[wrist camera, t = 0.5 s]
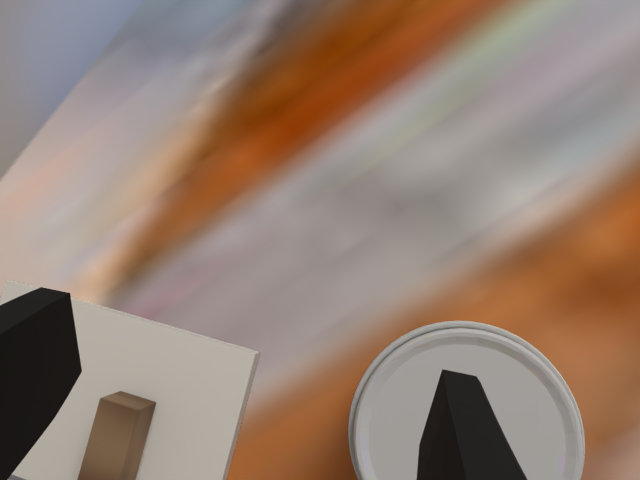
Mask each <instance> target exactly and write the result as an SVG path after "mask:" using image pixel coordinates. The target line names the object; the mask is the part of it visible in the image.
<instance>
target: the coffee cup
mask: <svg viewBox="0 0 640 480" xmlns="http://www.w3.org/2000/svg"><path fill="white" fill-rule="evenodd" d="M442 369H444V370H449V371H454V372H459V373H463V374H468V375H473V376H477V378H478V379H479V381H480V382H481V384H482V387H483V389H484V391H485V394H486V396H487V398H488V401H489V403H490V405H491V407H492V409H493V412H494V414H495V416H496V418H497V420H498V422H499V425H500V427H501V429H502V431H503V433H504V435H505V437H506V439H507V441H508V443H509V445H510V447H511V449H512V451H513V453H514V455H515V457H516V459H517V461H518V463H519V465H520V466H521V468H522V470H523V472H524V474H525V476H526V478H527V480H580V479H581V475H582V471H583V465H584V456H585V439H584V430H583V424H582V419H581V416H580V412H579V409H578V406H577V404H576V401H575V399H574V396H573V394H572V392H571V391H570V389H569V387H568V385H567V383H566V382H565V380H564V379H563V377H562V376H561V374H560V373H559V372H558V370H557V369H556V368H555V367H554V366H553V364H552V363H551V362H550V361H549V360H548V359H547V358H546V357H545V356H544V355H543V354H542V353H541V352H540V351H538V350H537V349H536V348H535V347H533V346H532V345H531V344H530V343H528V342H526V341H525V340H523V339H522V338H520V337H518V336H516V335H514V334H512V333H510V332H508V331H506V330H503V329H501V328H498V327H495V326H492V325H488V324H484V323H478V322H472V321H446V322H440V323H434V324H430V325H426V326H423V327H419V328H417V329H414V330H412V331H410V332H408V333H407V334H405V335H403V336H401V337H400V338H398V339H397V340H395V341H394V342H392V343H391V344H390V345H389V346H387V347H386V348H385V349H384V350H383V351H382V352H381V353H380V354H379V355H378V356H377V357H376V358H375V359H374V360H373V361H372V363H371V364H370V366H369V367H368V368H367V370H366V371H365V373H364V375H363V376H362V378H361V380H360V382H359V384H358V387H357V389H356V391H355V394H354V397H353V400H352V404H351V409H350V414H349V424H348V440H349V449H350V455H351V460H352V464H353V467H354V470H355V473H356V476H357V479H358V480H417V468H418V455H419V444H420V441H421V438H422V434H423V431H424V428H425V424H426V421H427V418H428V414H429V411H430V408H431V405H432V401H433V398H434V395H435V391H436V388H437V385H438V382H439V378H440V375H441V372H442Z"/></svg>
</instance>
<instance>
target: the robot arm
mask: <svg viewBox="0 0 640 480" xmlns="http://www.w3.org/2000/svg"><path fill="white" fill-rule="evenodd" d="M81 372H82V368H81V362H80V355H79V349H78V342H77V336H76V329H75V322H74V316H73V309H72V303H71V296H70V293H66V292H61V291H56V290H52V289H47V288H42V287H41V288H38V289H36V290H33V291H31V292H28V293H26V294H24V295H22V296H19V297H17V298H15V299H13V300H10V301H8V302H6V303H4V304H2V305H0V480H7V479H8V478H9V477H10V475H11V474H12V473H13V472H14V470H15V469H16V468H17V466H18V465H19V464H20V463H21V461H22V460H23V459H24V458H25V456H26V455H27V454H28V452H29V451H30V450H31V448H32V447H33V446H34V445H35V443H36V442H37V441H38V439H39V438H40V437H41V435H42V434H43V433H44V431H45V430H46V429H47V427H48V426H49V425H50V423H51V422H52V421H53V419H54V418H55V417H56V415H57V413H58V412H59V410H60V408H61V407H62V405H63V403H64V402H65V400H66V399H67V397H68V395H69V393H70V392H71V390H72V388H73V386H74V385H75V383H76V381H77V379H78V378H79V376H80V374H81ZM417 480H527V478H526V476H525V474H524V472H523V470H522V468H521V466H520V465H519V463H518V461H517V459H516V457H515V455H514V453H513V451H512V449H511V447H510V445H509V443H508V441H507V439H506V437H505V435H504V433H503V431H502V429H501V427H500V425H499V422H498V420H497V418H496V416H495V414H494V412H493V409H492V407H491V405H490V403H489V401H488V398H487V396H486V394H485V391H484V389H483V387H482V384H481V382H480V381H479V379H478V378H477V376H473V375H468V374H463V373H459V372H454V371H449V370H444V369H442V372H441V375H440V378H439V382H438V385H437V388H436V391H435V395H434V398H433V401H432V405H431V408H430V411H429V414H428V418H427V421H426V424H425V428H424V431H423V434H422V438H421V441H420V444H419V455H418V468H417Z"/></svg>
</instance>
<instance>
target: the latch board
mask: <svg viewBox="0 0 640 480" xmlns="http://www.w3.org/2000/svg"><path fill="white" fill-rule="evenodd" d="M38 288H39V287H36V286H32V285H29V284H25V283H22V282H19V281H6V282H5V285H4V289H3V292H2V296H1V299H0V305H2V304H4V303H6V302H8V301H10V300H13V299H15V298H17V297H19V296H22V295H24V294H26V293H28V292H31V291H33V290H36V289H38ZM71 303H72V309H73V316H74V322H75V329H76V336H77V342H78V349H79V355H80V362H81V368H82V372H81V374H80V376H79V378H78V379H77V381H76V383H75V385H74V386H73V388H72V390H71V392H70V393H69V395H68V397H67V399H66V400H65V402H64V403H63V405H62V407H61V408H60V410H59V412H58V413H57V415H56V417H55V418H54V419H53V421H52V422H51V423H50V425H49V426H48V427H47V429H46V430H45V431H44V433H43V434H42V435H41V437H40V438H39V439H38V441H37V442H36V443H35V445H34V446H33V447H32V448H31V450H30V451H29V452H28V454H27V455H26V456H25V458H24V459H23V460H22V461H21V463H20V464H19V465H18V466H17V468H16V469H15V470H14V472H13V473H12V474H11V475H10V477H9V478H8V479H7V480H77V479H78V476H79V472H80V468H81V465H82V461H83V458H84V454H85V451H86V447H87V443H88V440H89V436H90V433H91V429H92V425H93V422H94V418H95V415H96V411H97V407H98V404H99V400H100V398H102V397H105V396H108V395H111V394H113V393H116V392H119V391H123V392H126V393H129V394H132V395H135V396H139V397H142V398H145V399H148V400H151V401H154V402H156V406H155V410H154V413H153V417H152V421H151V424H150V428H149V432H148V435H147V439H146V443H145V446H144V450H143V454H142V457H141V461H140V465H139V468H138V472H137V476H136V479H135V480H227V476H228V472H229V469H230V465H231V461H232V457H233V453H234V450H235V446H236V442H237V438H238V434H239V431H240V427H241V423H242V419H243V415H244V412H245V408H246V404H247V400H248V396H249V393H250V389H251V385H252V381H253V378H254V374H255V370H256V366H257V362H258V359H259V355H260V352H258V351H255V350H251V349H248V348H244V347H241V346H238V345H234V344H231V343H227V342H224V341H221V340H217V339H214V338H210V337H207V336H203V335H200V334H197V333H193V332H190V331H186V330H183V329H179V328H176V327H173V326H169V325H166V324H162V323H159V322H156V321H152V320H149V319H145V318H142V317H138V316H135V315H132V314H128V313H125V312H121V311H118V310H114V309H111V308H108V307H104V306H101V305H97V304H94V303H90V302H87V301H84V300H80V299H77V298H73V297H71Z"/></svg>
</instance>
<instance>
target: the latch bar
mask: <svg viewBox="0 0 640 480" xmlns="http://www.w3.org/2000/svg"><path fill="white" fill-rule="evenodd" d="M155 406H156V402H154V401H151V400H148V399H145V398H142V397H139V396H135V395H132V394H129V393H126V392H123V391H119V392H116V393H113V394H111V395H108V396H105V397H102V398H100V400H99V404H98V407H97V411H96V415H95V418H94V422H93V425H92V429H91V433H90V436H89V440H88V443H87V447H86V451H85V454H84V458H83V461H82V465H81V468H80V472H79V476H78V479H77V480H135V479H136V476H137V472H138V468H139V465H140V461H141V457H142V454H143V450H144V446H145V443H146V439H147V435H148V432H149V428H150V424H151V421H152V417H153V413H154V410H155Z"/></svg>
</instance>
